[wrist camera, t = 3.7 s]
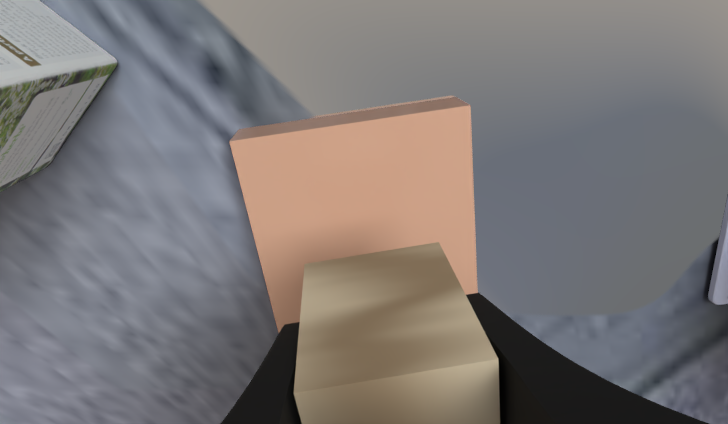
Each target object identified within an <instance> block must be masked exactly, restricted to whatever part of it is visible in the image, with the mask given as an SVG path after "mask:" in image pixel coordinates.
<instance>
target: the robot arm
mask: <svg viewBox="0 0 728 424" xmlns="http://www.w3.org/2000/svg"><path fill="white" fill-rule="evenodd" d="M466 296H467V298H468V300H469V302H470V304H471V306H472V308H473V310H474V312H475V314H476V316H477V318H478V320H479V322H480V324H481V326H482V328H483V330H484V332H485V334H486V336H487V338H488V340H489V341H490V343H491V345H492V347H493V349H494V351H495V353H496V355H497V357H498V361H499V400H500V424H708V423H706V422H703V421H700V420H698V419H695V418H692V417H690V416H687V415H684V414H682V413H679V412H677V411H674V410H671V409H669V408H666V407H664V406H662V405H659V404H657V403H654V402H652V401H650V400H647V399H645V398H643V397H641V396H639V395H637V394H634V393H632V392H630V391H628V390H626V389H624V388H621V387H619V386H617V385H615V384H613V383H611V382H609V381H607V380H605V379H603V378H601V377H600V376H598V375H596V374H594V373H592V372H591V371H589V370H587V369H585V368H583V367H581V366H580V365H578V364H576V363H574V362H573V361H571V360H569V359H568V358H566V357H565V356H563V355H561V354H560V353H558V352H557V351H555V350H554V349H552V348H551V347H549V346H548V345H546V344H545V343H543V342H542V341H540V340H539V339H537V338H536V337H535V336H533V335H532V334H531V333H529V332H528V331H527V330H525V329H524V328H523V327H521V326H520V325H519V324H517V323H516V322H515V321H513V320H512V319H511V318H510V317H508V316H507V315H506V314H505V313H503V312H502V311H501V310H500V309H498V308H497V307H496V306H495V305H493V304H492V303H491V302H490V301H488V300H487V299H486V298H485V297H484V296H482V295H480V294H479V293H474V294H468V295H466ZM708 299H709V300H710V301H711V302H713V303H714V304H716V305H723V304H728V196H727V201H726V206H725V211H724V216H723V221H722V227H721V231H720V237H719V242H718V247H717V252H716V257H715V262H714V267H713V272H712V278H711V283H710V288H709V293H708ZM299 324H300V322H296V323H290V324H285V325H284V326H283V327H282V329H281V330H280V332H279V334H278V336H277V338H276V340H275V342H274V343H273V345H272V347H271V349H270V351H269V352H268V354H267V356H266V357H265V359H264V361H263V363H262V364H261V366H260V367H259V369H258V371H257V372H256V374H255V376H254V377H253V379H252V380H251V382H250V383H249V385H248V386H247V388H246V389H245V391H244V392H243V394H242V395H241V397H240V398H239V399H238V401H237V402H236V404H235V405H234V407H233V408H232V409H231V411H230V412H229V413H228V415H227V416H226V417H225V419H224V420H223V421H222V423H221V424H302V423H301V419H300V415H299V411H298V408H297V404H296V400H295V397H294V383H295V371H296V359H297V347H298V336H299Z"/></svg>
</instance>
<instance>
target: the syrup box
mask: <svg viewBox="0 0 728 424" xmlns="http://www.w3.org/2000/svg"><path fill="white" fill-rule="evenodd" d="M116 66H117V60H116V59H115V58H114V57H113V56H111V55H110V54H109V53H108V52H106V51H105V50H104V49H102V48H101V47H100V46H98V45H97V44H96V43H94V42H93V41H92V40H90V39H89V38H88V37H86V36H85V35H84V34H83V33H81V32H80V31H79V30H78V29H76V28H75V27H74V26H72V25H71V24H70V23H68V22H67V21H66V20H64V19H63V18H62V17H60V16H59V15H58V14H56V13H55V12H54V11H53V10H51V9H50V8H48V7H47V6H46V5H44V4H43V3H42V2H41V1H39V0H0V192H1V191H4V190H5V189H7V188H9V187H11V186H12V185H14V184H16V183H18V182H20V181H22V180H24V179H26V178H28V177H29V176H31V175H33V174H35V173H36V172H38V171H40V170H42V169H44V168H46V167H48V165H49V164H50V163H51V161H52V160H53V159H54V157H55V156H56V154H57V153H58V151H59V150H60V148H61V146H62V145H63V144H64V142H65V141H66V139H67V138H68V136H69V135H70V133H71V132H72V130H73V129H74V127H75V126H76V124H77V123H78V121H79V120H80V118H81V117H82V115H83V114H84V112H85V111H86V110H87V108H88V107H89V105H90V104H91V102H92V101H93V99H94V98H95V96H96V95H97V93H98V92H99V91H100V89H101V88H102V86H103V85H104V83H105V82H106V81H107V79H108V78H109V76H110V75H111V73H112V72H113V70H114V69H115V67H116Z"/></svg>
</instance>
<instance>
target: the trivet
mask: <svg viewBox="0 0 728 424" xmlns="http://www.w3.org/2000/svg"><path fill="white" fill-rule="evenodd" d="M313 117H314V118H311V119H304V120H297V121H291V122H284V123H277V124H271V125H264V126H257V127H250V128H244V129H239V130H238V131H237V132H236V134H235V135H234V136H233V137H232V139H231V140H230V141H229V142H230V146H231V150H232V154H233V158H234V161H235V165H236V169H237V173H238V177H239V181H240V185H241V189H242V193H243V196H244V200H245V204H246V208H247V212H248V216H249V220H250V224H251V228H252V232H253V235H254V239H255V243H256V247H257V251H258V255H259V259H260V263H261V267H262V270H263V274H264V278H265V282H266V286H267V290H268V294H269V298H270V302H271V305H272V309H273V313H274V317H275V321H276V325H277V329H278V333H279V332H280V330H281V329H282V327H283V326H284V325H285V324H290V323H296V322H300V312H301V300H302V289H303V277H304V265H305V264H307V263H313V262H319V261H325V260H331V259H338V258H344V257H350V256H356V255H362V254H368V253H374V252H381V251H387V250H393V249H399V248H405V247H411V246H417V245H424V244H430V243H436V242H439V244H440V246H441V248H442V249H443V251H444V253H445V255H446V257H447V259H448V261H449V263H450V265H451V267H452V269H453V271H454V273H455V275H456V277H457V279H458V281H459V283H460V285H461V287H462V289H463V291H464V293H465V295H468V294H474V293H478V291H477V266H476V239H475V213H474V187H473V161H472V136H471V109H470V105H469V104H467V103H465V102H464V101H462V100H460V99H458V98H457V97H455V96H453V95H452V96H445V97H438V98H432V99H425V100H418V101H411V102H404V103H398V104H391V105H384V106H378V107H371V108H364V109H358V110H351V111H345V112H337V113H331V114H324V115H317V116H313Z"/></svg>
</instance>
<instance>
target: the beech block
mask: <svg viewBox="0 0 728 424" xmlns="http://www.w3.org/2000/svg"><path fill="white" fill-rule="evenodd" d="M294 397H295V400H296V404H297V408H298V411H299V415H300V419H301V423H302V424H500V400H499V361H498V357H497V355H496V353H495V351H494V349H493V347H492V345H491V343H490V341H489V340H488V338H487V336H486V334H485V332H484V330H483V328H482V326H481V324H480V322H479V320H478V318H477V316H476V314H475V312H474V310H473V308H472V306H471V304H470V302H469V300H468V298H467V296H466V295H465V293H464V291H463V289H462V287H461V285H460V283H459V281H458V279H457V277H456V275H455V273H454V271H453V269H452V267H451V265H450V263H449V261H448V259H447V257H446V255H445V253H444V251H443V249H442V248H441V246H440V244H439V242H436V243H430V244H424V245H417V246H411V247H405V248H399V249H393V250H387V251H381V252H374V253H368V254H362V255H356V256H350V257H344V258H338V259H331V260H325V261H319V262H313V263H307V264H305V265H304V277H303V289H302V300H301V312H300V324H299V336H298V347H297V359H296V371H295V383H294Z"/></svg>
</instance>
